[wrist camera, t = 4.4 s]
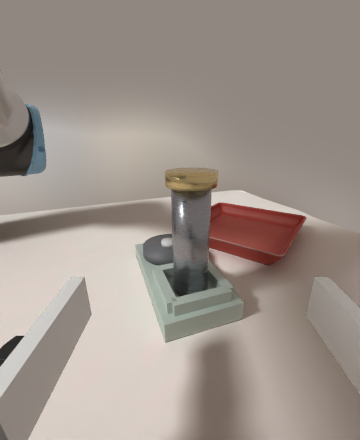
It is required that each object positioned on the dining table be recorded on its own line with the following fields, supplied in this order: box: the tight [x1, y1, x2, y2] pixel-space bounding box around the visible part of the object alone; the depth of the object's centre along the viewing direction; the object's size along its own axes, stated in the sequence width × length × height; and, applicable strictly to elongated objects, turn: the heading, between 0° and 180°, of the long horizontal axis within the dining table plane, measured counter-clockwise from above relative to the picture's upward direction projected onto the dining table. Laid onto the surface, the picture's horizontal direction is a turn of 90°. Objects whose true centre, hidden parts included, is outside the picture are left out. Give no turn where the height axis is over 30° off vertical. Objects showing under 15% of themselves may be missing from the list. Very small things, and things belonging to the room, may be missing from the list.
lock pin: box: [165, 168, 218, 296], centre depth 22 cm, size 5×5×12 cm
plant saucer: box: [209, 203, 306, 265], centre depth 40 cm, size 18×18×3 cm
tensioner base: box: [135, 234, 244, 342], centre depth 28 cm, size 16×8×4 cm, turn 19°
